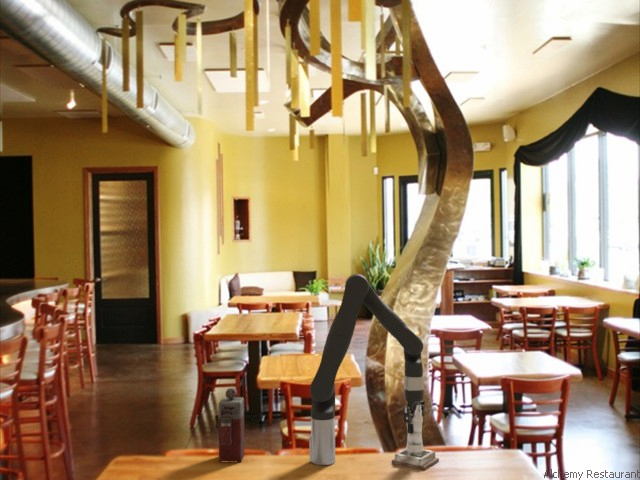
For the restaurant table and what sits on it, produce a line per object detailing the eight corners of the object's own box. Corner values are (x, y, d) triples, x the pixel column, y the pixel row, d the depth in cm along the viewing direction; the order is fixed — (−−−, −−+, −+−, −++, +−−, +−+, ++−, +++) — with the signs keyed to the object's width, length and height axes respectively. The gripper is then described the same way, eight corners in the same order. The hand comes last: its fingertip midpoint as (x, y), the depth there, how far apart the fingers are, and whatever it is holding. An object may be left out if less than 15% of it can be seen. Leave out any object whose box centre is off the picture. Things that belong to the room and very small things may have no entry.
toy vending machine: (217, 464, 245) (216, 391, 246) (222, 455, 257) (221, 385, 257) (240, 464, 245) (239, 391, 246) (244, 454, 256) (243, 385, 257)
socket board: (391, 463, 243) (391, 453, 244) (406, 455, 253) (406, 445, 253) (424, 470, 235) (424, 460, 235) (438, 461, 245) (438, 451, 245)
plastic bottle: (423, 459, 240) (422, 406, 241) (405, 458, 242) (404, 405, 242) (424, 453, 247) (423, 402, 247) (406, 452, 248) (406, 401, 248)
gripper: (414, 383, 253) (414, 425, 252) (396, 389, 241) (396, 434, 241) (431, 385, 248) (431, 428, 248) (413, 392, 237) (414, 437, 236)
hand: (414, 431), depth 244 cm, fingers closed on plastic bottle, 6 cm apart
